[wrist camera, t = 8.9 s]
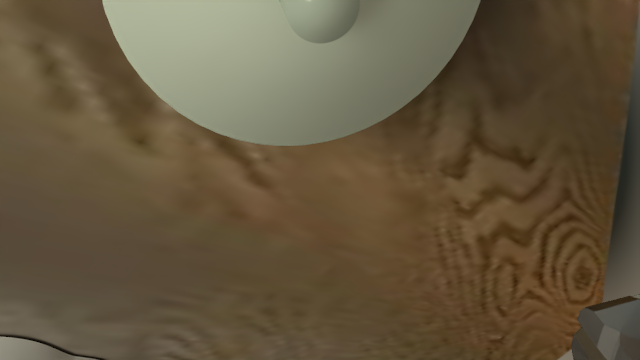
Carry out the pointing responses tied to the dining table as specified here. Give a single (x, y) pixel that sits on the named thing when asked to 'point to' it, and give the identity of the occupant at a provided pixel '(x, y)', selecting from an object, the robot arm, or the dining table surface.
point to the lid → (289, 60)
